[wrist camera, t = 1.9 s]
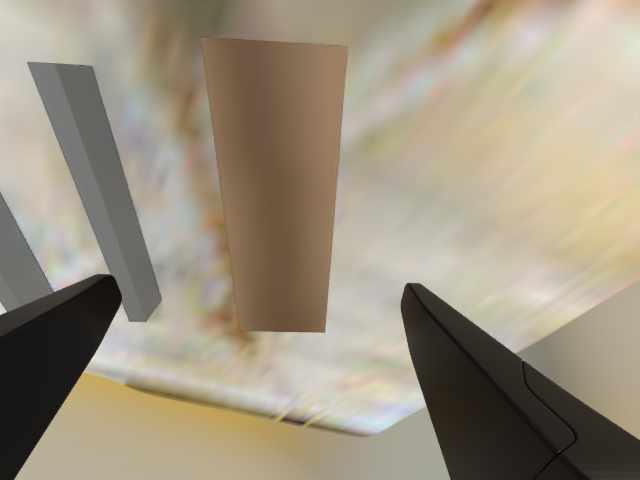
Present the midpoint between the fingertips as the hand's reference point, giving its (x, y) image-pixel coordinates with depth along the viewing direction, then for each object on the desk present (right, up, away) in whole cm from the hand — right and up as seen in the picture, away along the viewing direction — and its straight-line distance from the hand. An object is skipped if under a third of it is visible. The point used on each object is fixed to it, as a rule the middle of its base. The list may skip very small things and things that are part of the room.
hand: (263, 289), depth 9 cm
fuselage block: (0, +5, +9) cm, 11 cm away
